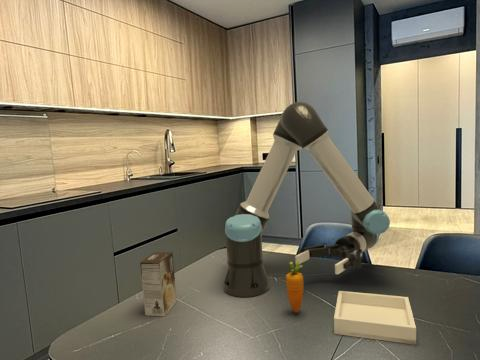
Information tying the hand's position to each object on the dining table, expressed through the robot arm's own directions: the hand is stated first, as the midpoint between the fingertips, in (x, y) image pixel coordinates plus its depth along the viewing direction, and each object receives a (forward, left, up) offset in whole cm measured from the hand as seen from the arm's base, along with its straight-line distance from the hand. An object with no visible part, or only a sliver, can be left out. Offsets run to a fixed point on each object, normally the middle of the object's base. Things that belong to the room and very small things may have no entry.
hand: (315, 264), depth 101 cm
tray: (+16, -9, -11) cm, 21 cm away
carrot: (-4, -9, -11) cm, 15 cm away
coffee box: (-43, -16, -11) cm, 48 cm away
